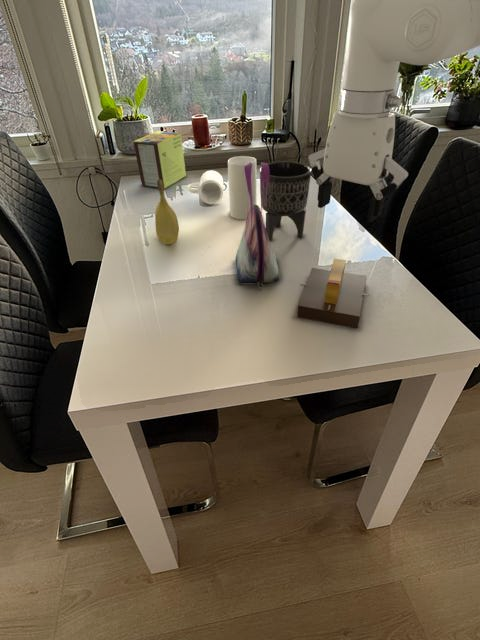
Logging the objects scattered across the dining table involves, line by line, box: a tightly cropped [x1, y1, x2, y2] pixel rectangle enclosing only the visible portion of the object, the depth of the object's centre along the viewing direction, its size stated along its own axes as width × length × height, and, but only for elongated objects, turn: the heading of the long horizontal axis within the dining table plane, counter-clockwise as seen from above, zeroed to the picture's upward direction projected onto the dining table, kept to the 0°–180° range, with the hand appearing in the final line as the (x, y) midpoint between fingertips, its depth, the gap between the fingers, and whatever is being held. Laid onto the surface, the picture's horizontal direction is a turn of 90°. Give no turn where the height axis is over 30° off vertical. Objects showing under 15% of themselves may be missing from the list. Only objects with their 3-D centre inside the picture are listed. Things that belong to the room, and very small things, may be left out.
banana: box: [154, 179, 180, 245], centre depth 97 cm, size 23×6×20 cm, turn 15°
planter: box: [259, 160, 312, 241], centre depth 99 cm, size 13×13×18 cm
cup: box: [227, 155, 258, 220], centre depth 111 cm, size 8×8×16 cm
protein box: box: [132, 130, 187, 189], centre depth 137 cm, size 10×15×16 cm
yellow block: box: [324, 258, 347, 304], centre depth 76 cm, size 10×2×5 cm, turn 161°
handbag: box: [235, 161, 281, 291], centre depth 82 cm, size 21×10×25 cm, turn 3°
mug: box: [186, 169, 224, 206], centre depth 124 cm, size 12×10×8 cm
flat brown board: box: [296, 267, 370, 329], centre depth 79 cm, size 15×14×3 cm
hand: (347, 212), depth 66 cm, fingers open, 9 cm apart
